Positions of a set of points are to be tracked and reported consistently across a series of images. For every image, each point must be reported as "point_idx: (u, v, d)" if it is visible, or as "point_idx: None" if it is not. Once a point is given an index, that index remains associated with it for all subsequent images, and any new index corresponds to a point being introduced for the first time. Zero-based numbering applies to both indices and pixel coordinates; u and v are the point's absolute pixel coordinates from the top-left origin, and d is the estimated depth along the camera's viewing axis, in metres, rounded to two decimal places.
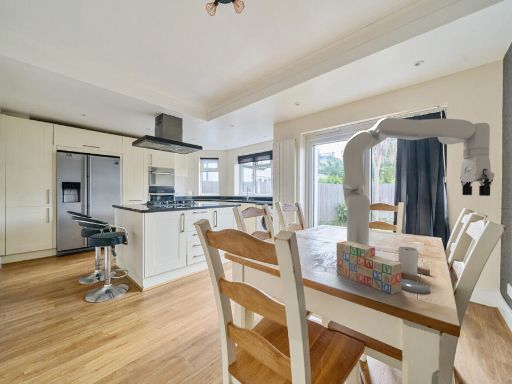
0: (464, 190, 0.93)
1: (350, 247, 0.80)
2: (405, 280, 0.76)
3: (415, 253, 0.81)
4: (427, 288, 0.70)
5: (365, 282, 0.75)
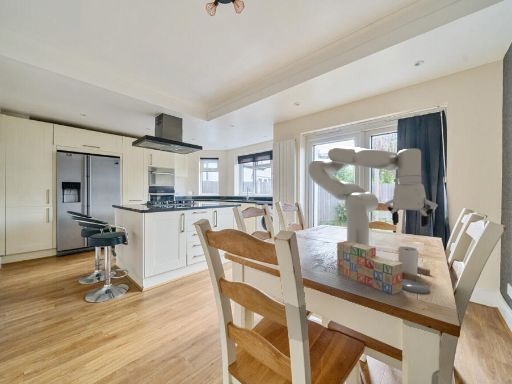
0: (395, 218, 0.87)
1: (351, 247, 0.80)
2: (405, 280, 0.76)
3: (415, 253, 0.81)
4: (427, 288, 0.70)
5: (366, 282, 0.75)
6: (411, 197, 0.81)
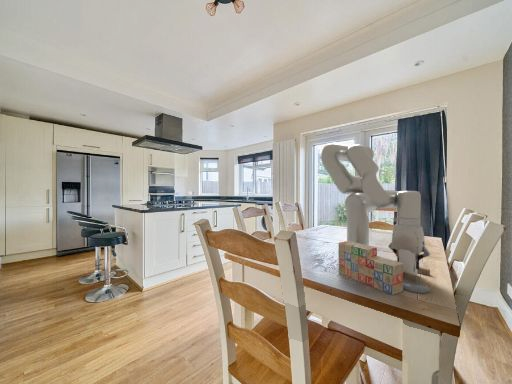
0: None
1: (352, 247, 0.80)
2: (405, 280, 0.76)
3: None
4: (427, 288, 0.70)
5: (366, 282, 0.75)
6: (410, 240, 0.81)
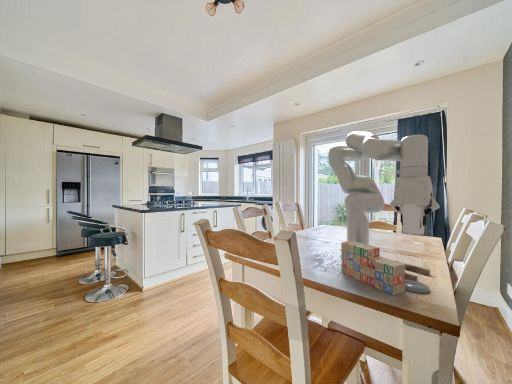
0: None
1: (354, 247, 0.80)
2: (405, 280, 0.76)
3: None
4: (427, 288, 0.70)
5: (368, 282, 0.75)
6: (416, 191, 0.69)
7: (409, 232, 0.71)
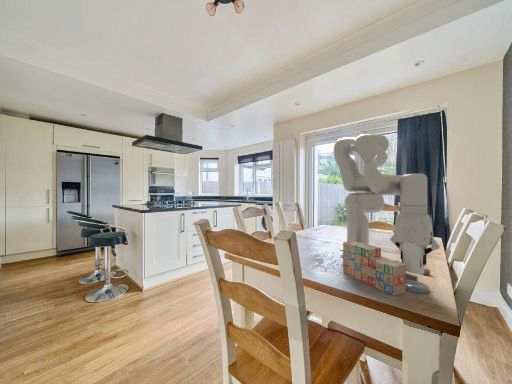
0: None
1: (355, 247, 0.80)
2: None
3: None
4: (427, 288, 0.70)
5: (369, 282, 0.75)
6: (416, 230, 0.69)
7: (409, 271, 0.71)
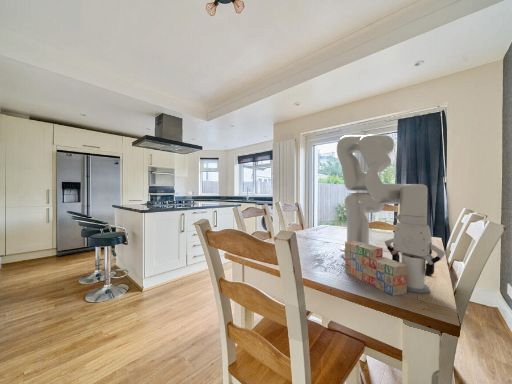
0: None
1: (357, 247, 0.80)
2: None
3: (422, 261, 0.69)
4: (427, 288, 0.70)
5: (370, 282, 0.75)
6: (415, 241, 0.69)
7: (409, 285, 0.71)
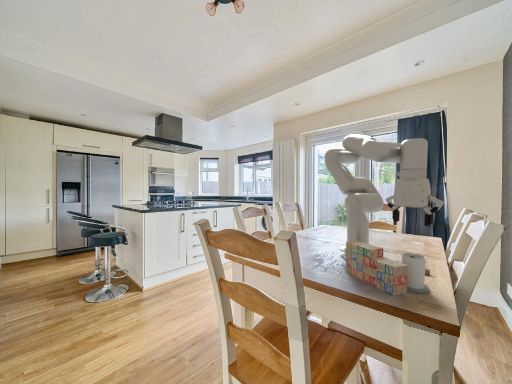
0: (395, 216, 0.79)
1: (357, 247, 0.80)
2: None
3: (422, 261, 0.69)
4: (427, 288, 0.70)
5: (370, 282, 0.75)
6: (414, 193, 0.72)
7: (409, 285, 0.71)
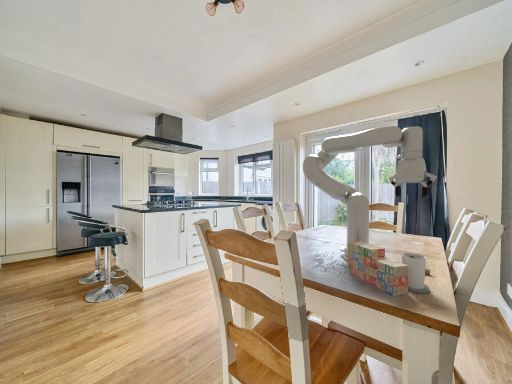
0: (398, 191, 0.95)
1: (359, 247, 0.80)
2: None
3: (422, 261, 0.69)
4: (427, 288, 0.70)
5: (371, 282, 0.75)
6: (413, 170, 0.89)
7: (409, 285, 0.71)
